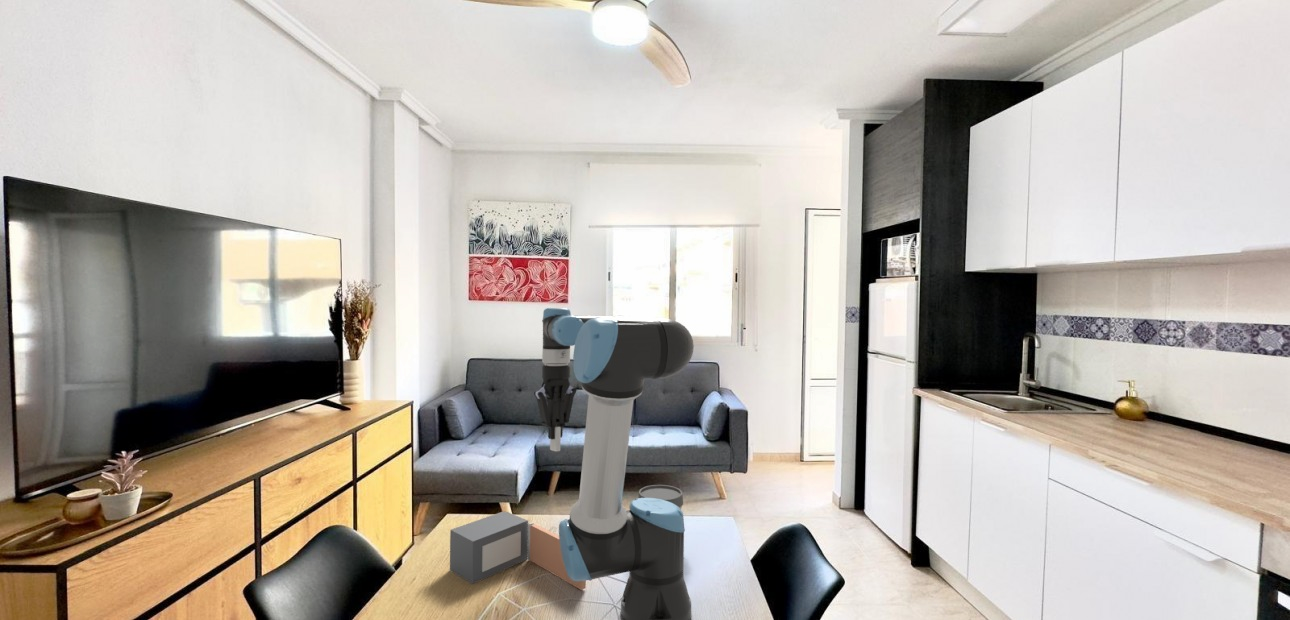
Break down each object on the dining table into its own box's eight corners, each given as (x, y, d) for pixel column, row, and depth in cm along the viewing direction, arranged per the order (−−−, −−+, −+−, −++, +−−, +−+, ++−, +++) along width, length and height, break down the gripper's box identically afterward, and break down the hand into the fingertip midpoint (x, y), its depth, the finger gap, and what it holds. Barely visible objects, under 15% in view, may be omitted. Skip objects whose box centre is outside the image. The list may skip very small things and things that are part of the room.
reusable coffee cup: (658, 532, 149) (659, 481, 149) (692, 546, 140) (692, 492, 140) (627, 546, 140) (628, 491, 140) (661, 562, 131) (662, 504, 131)
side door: (531, 556, 132) (531, 522, 132) (586, 587, 118) (586, 548, 118) (526, 558, 131) (526, 523, 131) (580, 590, 116) (581, 551, 116)
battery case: (528, 559, 132) (528, 520, 132) (473, 584, 119) (474, 541, 119) (504, 547, 138) (504, 510, 138) (449, 570, 126) (450, 529, 126)
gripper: (544, 366, 132) (543, 457, 132) (583, 363, 141) (582, 448, 141) (528, 364, 137) (527, 452, 137) (566, 361, 147) (565, 443, 146)
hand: (555, 450), depth 139 cm, fingers closed
